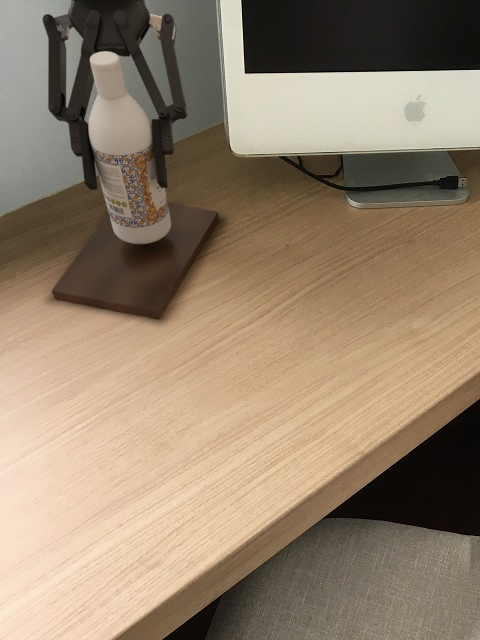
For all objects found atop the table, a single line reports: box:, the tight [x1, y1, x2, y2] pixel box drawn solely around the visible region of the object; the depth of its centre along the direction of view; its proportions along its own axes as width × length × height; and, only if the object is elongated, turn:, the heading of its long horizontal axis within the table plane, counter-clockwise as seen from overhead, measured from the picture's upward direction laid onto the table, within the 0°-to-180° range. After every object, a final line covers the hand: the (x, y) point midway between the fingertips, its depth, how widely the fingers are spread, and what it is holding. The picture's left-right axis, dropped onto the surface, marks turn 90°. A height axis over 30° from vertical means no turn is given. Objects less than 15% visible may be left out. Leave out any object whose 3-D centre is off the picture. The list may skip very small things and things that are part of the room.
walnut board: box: [51, 202, 220, 320], centre depth 96 cm, size 13×20×1 cm, turn 167°
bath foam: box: [88, 51, 171, 244], centre depth 87 cm, size 7×7×20 cm
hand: (127, 185), depth 87 cm, fingers closed on bath foam, 7 cm apart
